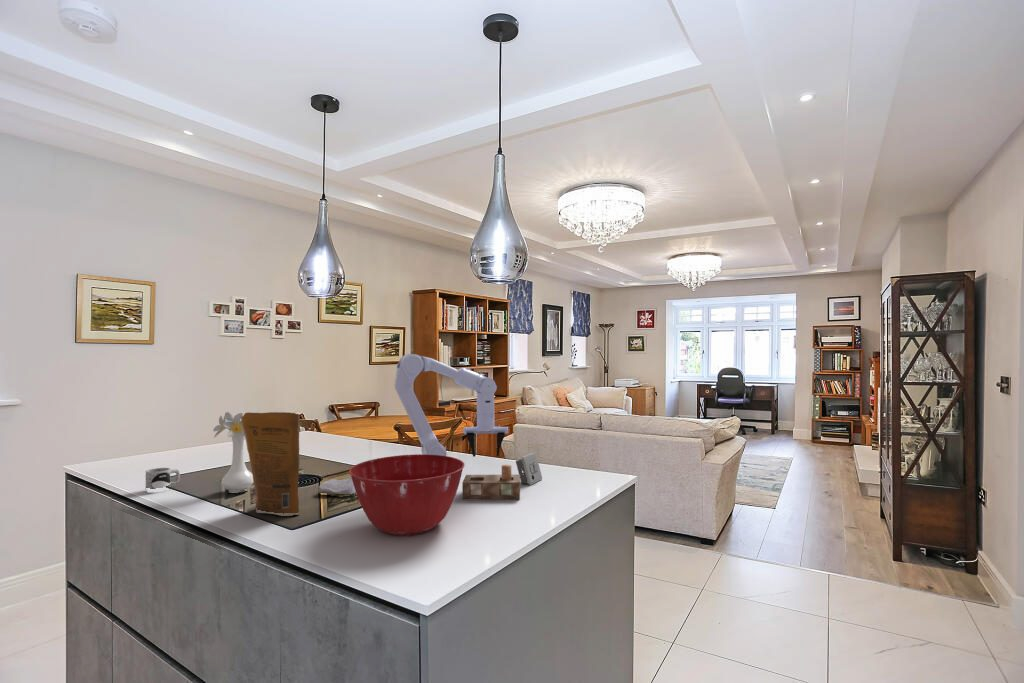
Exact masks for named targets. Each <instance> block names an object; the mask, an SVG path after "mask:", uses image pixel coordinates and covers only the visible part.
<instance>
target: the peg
mask: <svg viewBox="0 0 1024 683" xmlns="http://www.w3.org/2000/svg"><path fill="white" fill-rule="evenodd" d="M501 475H502V481H511V480H512V476H511V475H512V465H511V464H502V465H501Z"/></svg>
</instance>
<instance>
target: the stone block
mask: <svg viewBox="0 0 1024 683" xmlns="http://www.w3.org/2000/svg"><path fill="white" fill-rule="evenodd" d="M354 492H356V491H355V488H354V484H353V481H352V477H350V478H347V479H346V478H345V479H340V480H339V479H335V478H331V479H329V480H327V481H323V482H322V483H321V484H320V485H319V487H318V494H319V493H328V494H352V493H354Z"/></svg>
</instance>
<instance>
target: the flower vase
mask: <svg viewBox="0 0 1024 683" xmlns="http://www.w3.org/2000/svg"><path fill="white" fill-rule="evenodd" d="M241 416H244V414H243V413H242V412H240V413H237V414H235V415H234V416H233V415H232V414H231V413H230V412H229V411H226V412H225V413H224V416H222V415H220V416H219V417H218V425H216V426H215V427H214V428H213V430H212V431H213V433H214V432H216V433H215V435H214V436H213V437H214V438H216V437H217V436H218V435H220V434H221V433H222V432H224V430H226V429H228V432H227V437H228V438H231V442H232V457H231V458H232V460H231V465H230V468H229V470H228V472H227V473H226V474H225V475H224V476H223V477H222V479H221V486H222V488H224V489H225V490H226V491H227V490H229V491H240V490H245V489H247V488H249V489H250V487H251V486H252V485H254V482H253V474H252V471H250V470H249V469H248V468H247V465H246V463H245V456H244V441H245V434H244V430H243V427H242V422H241Z"/></svg>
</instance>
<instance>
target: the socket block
mask: <svg viewBox="0 0 1024 683" xmlns="http://www.w3.org/2000/svg"><path fill="white" fill-rule="evenodd" d="M511 476H512V480H511V481H502V474H465V477H464V479H463V480H462V486H461V487H462V489H461V490H462V491H461V492H462V493H461V494H462V500H463V499H481V501H482V499H486V501H487V500H520V499H521V480H520V475H519V474H511Z"/></svg>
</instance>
